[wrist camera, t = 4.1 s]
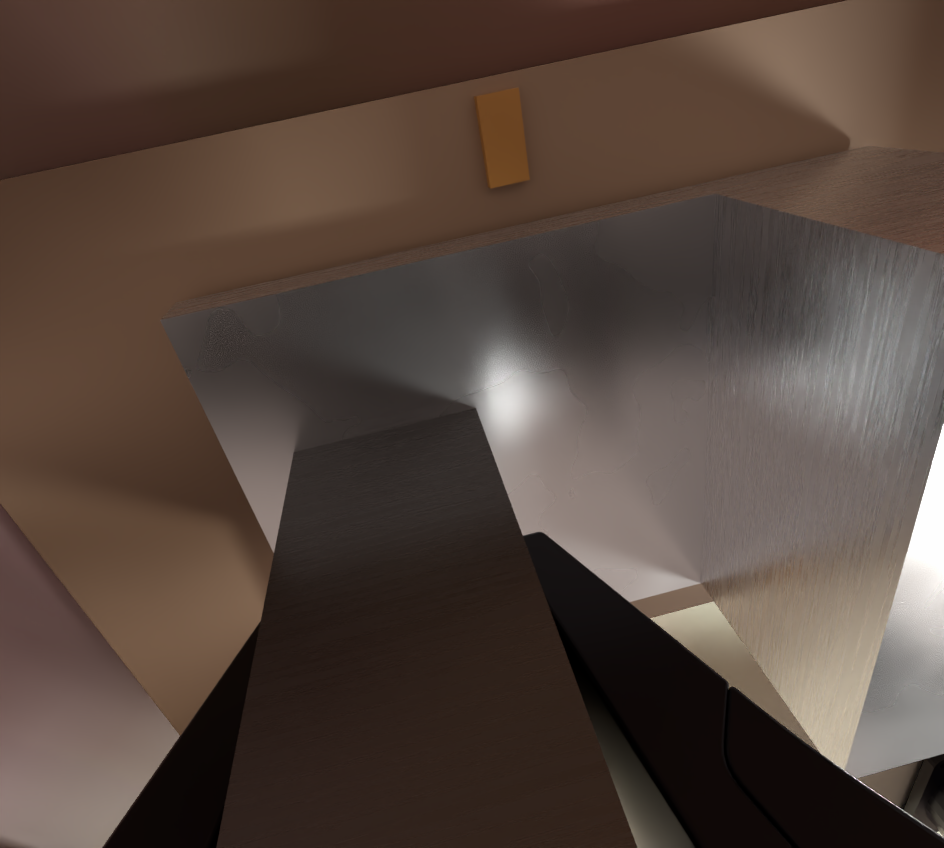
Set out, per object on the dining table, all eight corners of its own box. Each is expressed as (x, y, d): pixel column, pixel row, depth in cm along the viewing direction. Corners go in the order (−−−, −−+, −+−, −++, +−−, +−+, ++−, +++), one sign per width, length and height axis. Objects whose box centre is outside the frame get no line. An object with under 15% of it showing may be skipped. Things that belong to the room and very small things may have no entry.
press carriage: (807, 525, 13) (1268, 965, 6) (336, 647, 13) (308, 1269, 6) (868, 145, 9) (2284, 272, 2) (176, 302, 9) (-506, 1044, 2)
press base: (1070, 473, 16) (1416, 657, 11) (195, 703, 14) (102, 1039, 9) (1324, -101, 10) (2454, -340, 4) (-156, 213, 8) (-998, 396, 3)
